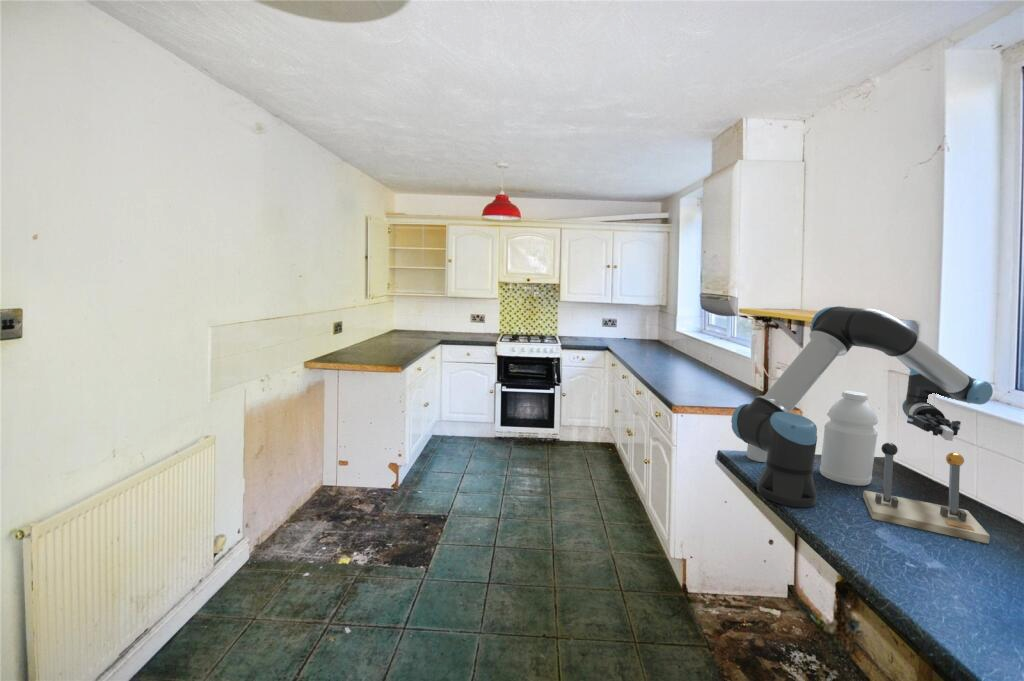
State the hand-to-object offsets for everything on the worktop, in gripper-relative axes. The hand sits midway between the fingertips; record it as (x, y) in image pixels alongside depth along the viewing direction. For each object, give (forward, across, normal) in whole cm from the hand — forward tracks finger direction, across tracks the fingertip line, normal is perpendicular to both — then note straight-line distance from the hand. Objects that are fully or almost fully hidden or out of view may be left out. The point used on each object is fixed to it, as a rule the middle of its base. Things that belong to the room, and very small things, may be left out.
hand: (949, 435), depth 136 cm
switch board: (+13, +7, -20) cm, 25 cm away
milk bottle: (-13, +46, -21) cm, 52 cm away
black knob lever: (+13, +14, -17) cm, 26 cm away
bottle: (-10, +22, -21) cm, 32 cm away
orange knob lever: (+13, 0, -17) cm, 21 cm away
